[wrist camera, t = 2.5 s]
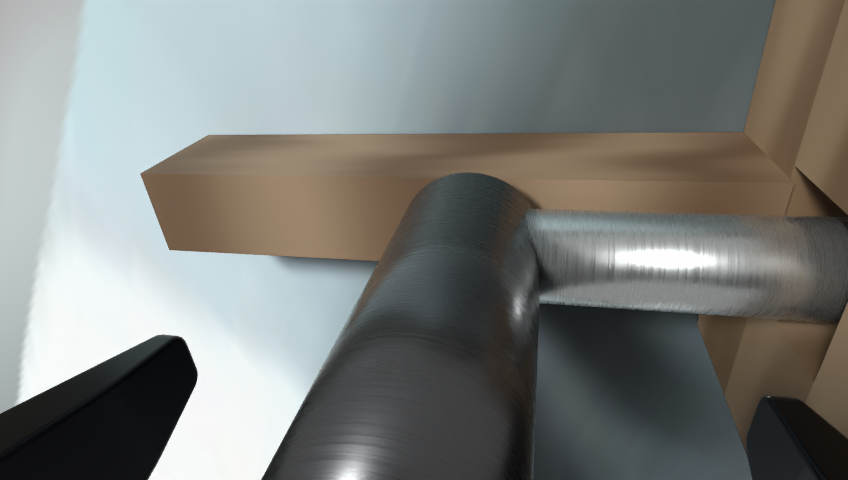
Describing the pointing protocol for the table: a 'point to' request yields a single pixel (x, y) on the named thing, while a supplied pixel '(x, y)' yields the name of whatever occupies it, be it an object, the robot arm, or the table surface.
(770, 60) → the wooden mallet
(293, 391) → the table surface
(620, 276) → the door handle
